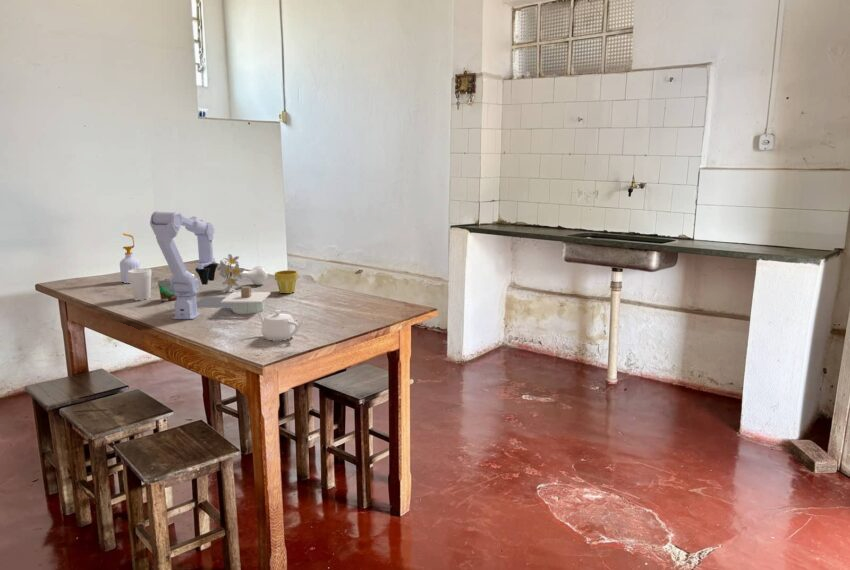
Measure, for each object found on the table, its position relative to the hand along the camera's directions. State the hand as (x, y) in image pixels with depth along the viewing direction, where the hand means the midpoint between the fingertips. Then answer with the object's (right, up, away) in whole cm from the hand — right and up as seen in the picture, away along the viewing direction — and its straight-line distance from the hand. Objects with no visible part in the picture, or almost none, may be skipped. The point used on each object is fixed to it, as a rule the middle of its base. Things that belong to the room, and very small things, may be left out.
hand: (208, 282), depth 263 cm
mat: (+1, -9, +8) cm, 12 cm away
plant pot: (+28, -5, +27) cm, 39 cm away
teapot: (+39, -20, -40) cm, 60 cm away
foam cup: (-35, -8, +15) cm, 38 cm away
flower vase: (+5, -3, +36) cm, 36 cm away
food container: (-20, -8, +13) cm, 25 cm away
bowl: (+18, -12, -5) cm, 22 cm away
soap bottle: (-55, 0, +49) cm, 74 cm away
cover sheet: (+18, -6, -6) cm, 20 cm away
